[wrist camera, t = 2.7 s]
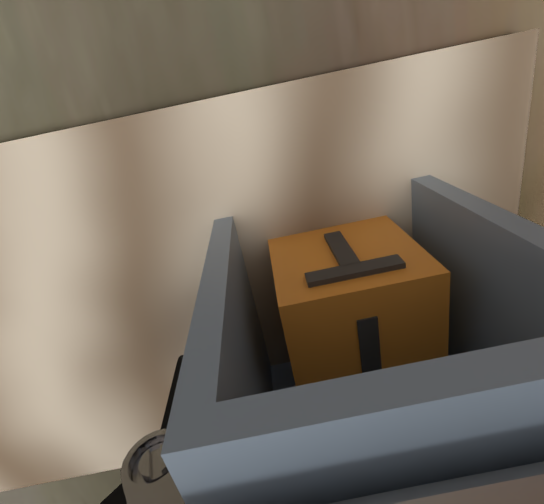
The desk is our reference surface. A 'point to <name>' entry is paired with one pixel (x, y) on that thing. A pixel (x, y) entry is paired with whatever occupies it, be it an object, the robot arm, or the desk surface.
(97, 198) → the board
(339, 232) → the letter cube
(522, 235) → the grey open-front cubby
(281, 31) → the desk surface
